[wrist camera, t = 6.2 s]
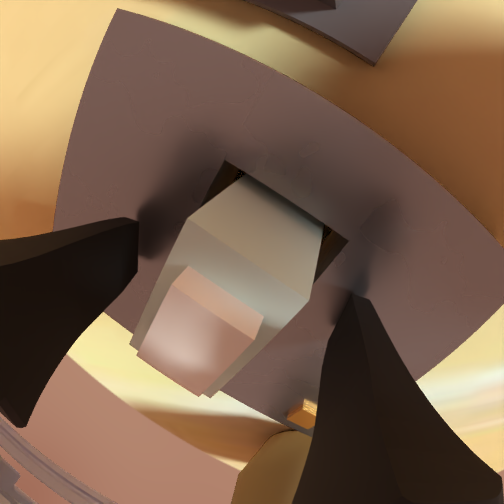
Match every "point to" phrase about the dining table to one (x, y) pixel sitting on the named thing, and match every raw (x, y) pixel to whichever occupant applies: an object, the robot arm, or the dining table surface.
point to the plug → (228, 286)
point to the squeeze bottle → (273, 470)
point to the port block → (283, 182)
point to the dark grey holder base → (347, 21)
